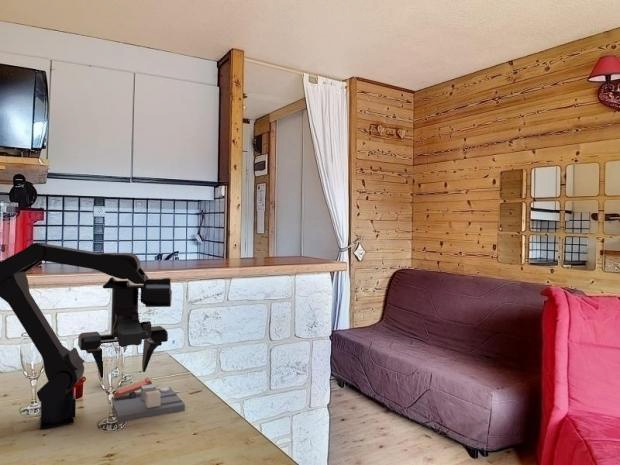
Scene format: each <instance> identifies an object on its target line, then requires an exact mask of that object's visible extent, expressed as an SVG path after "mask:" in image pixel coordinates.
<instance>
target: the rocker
mask: <svg viewBox="0 0 620 465" xmlns="http://www.w3.org/2000/svg"><path fill="white" fill-rule="evenodd" d="M151 384H153V382H152V381H151V379H150V378H149V377H145V378H144V380H142V381H141V380H140V381H139V382H135V383H133V384H130V385H127V386H124V387H122V388H117V391H116V393H115V394H114V395H113V396H114V397H115V398H117V397H120V396H123V395H126V394H129V393H132V392H134V391H135V392H138V391H139V390H140V391H141V386H144V385H151Z"/></svg>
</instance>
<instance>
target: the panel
mask: <svg viewBox="0 0 620 465" xmlns="http://www.w3.org/2000/svg"><path fill="white" fill-rule="evenodd" d="M156 390H158V391H159V392H160V393H161V400H160V406H157V407H151V408H147V407H146V405H145V401H143V400H142V399H141V391H134V392H132V393H129V394H126V395H123V396H120V397H117V398H115V397H114V398H113V409H112V411H113V410H114V411H113V413H114V415H115V416H114V417H115V418H116V420H117V423H125V422H130V421H134V420H141V419H147V418H153V417H157V416H164V415H167V414H168V415H169V414H172V413H173V414H174V413H179V412H185V410H186V405H185V403H184V402H183V400H182V399H181V398H180V397H179V396H178V394H177V393H176V392H175V391H174V390H173V389H172V387H171V386H164V387H160V388H156Z"/></svg>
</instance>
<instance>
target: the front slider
mask: <svg viewBox="0 0 620 465" xmlns="http://www.w3.org/2000/svg"><path fill="white" fill-rule="evenodd" d="M160 400H161V393H160V392H159V391H158V390H156V391H150V392H145V405H146V407H147V408H151V407H157V406H160Z"/></svg>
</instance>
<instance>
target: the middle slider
mask: <svg viewBox="0 0 620 465" xmlns="http://www.w3.org/2000/svg"><path fill="white" fill-rule="evenodd" d="M156 387H157V386H156V385H155V384H154V383H152V384H151V385H144V386H141V389H140V392H141V399H142V400H143V401H145V392H150V391H156V389H157V388H156Z"/></svg>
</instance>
